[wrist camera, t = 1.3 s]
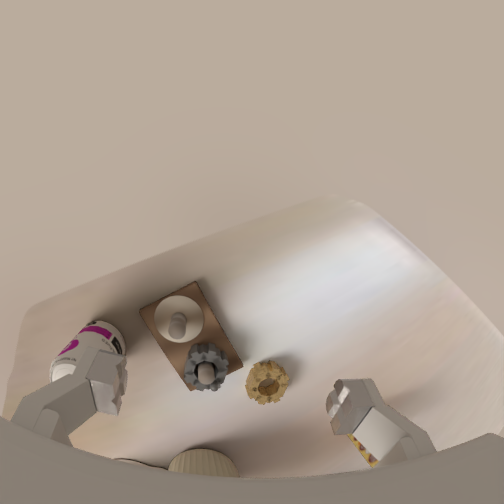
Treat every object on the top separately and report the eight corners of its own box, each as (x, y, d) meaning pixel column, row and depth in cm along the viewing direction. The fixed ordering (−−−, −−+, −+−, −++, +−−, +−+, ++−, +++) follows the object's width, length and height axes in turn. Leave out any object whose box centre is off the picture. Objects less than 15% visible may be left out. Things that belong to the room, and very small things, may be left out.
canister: (143, 467, 48) (134, 543, 28) (189, 422, 49) (191, 509, 28) (212, 496, 52) (222, 566, 31) (262, 456, 52) (288, 532, 32)
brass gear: (291, 383, 51) (296, 391, 48) (255, 401, 50) (258, 410, 47) (275, 353, 49) (279, 361, 47) (237, 372, 49) (239, 381, 46)
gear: (235, 370, 47) (239, 384, 42) (197, 387, 46) (197, 403, 42) (214, 334, 46) (216, 347, 41) (174, 354, 45) (172, 367, 40)
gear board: (242, 362, 49) (248, 382, 42) (190, 386, 48) (190, 408, 41) (195, 280, 46) (195, 291, 39) (140, 309, 45) (132, 323, 38)
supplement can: (73, 338, 43) (36, 380, 29) (101, 309, 44) (66, 346, 29) (106, 372, 45) (81, 422, 30) (136, 345, 45) (115, 394, 31)
